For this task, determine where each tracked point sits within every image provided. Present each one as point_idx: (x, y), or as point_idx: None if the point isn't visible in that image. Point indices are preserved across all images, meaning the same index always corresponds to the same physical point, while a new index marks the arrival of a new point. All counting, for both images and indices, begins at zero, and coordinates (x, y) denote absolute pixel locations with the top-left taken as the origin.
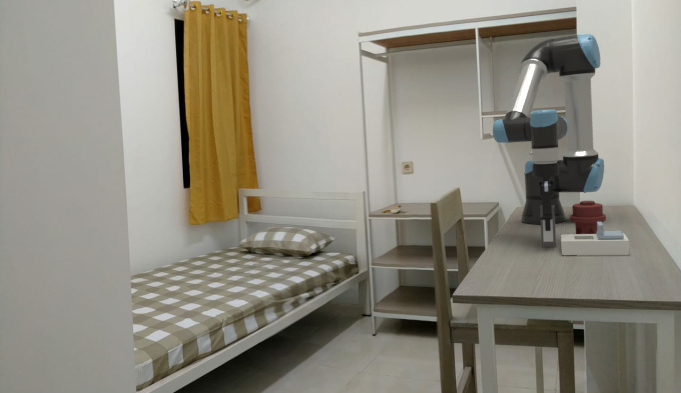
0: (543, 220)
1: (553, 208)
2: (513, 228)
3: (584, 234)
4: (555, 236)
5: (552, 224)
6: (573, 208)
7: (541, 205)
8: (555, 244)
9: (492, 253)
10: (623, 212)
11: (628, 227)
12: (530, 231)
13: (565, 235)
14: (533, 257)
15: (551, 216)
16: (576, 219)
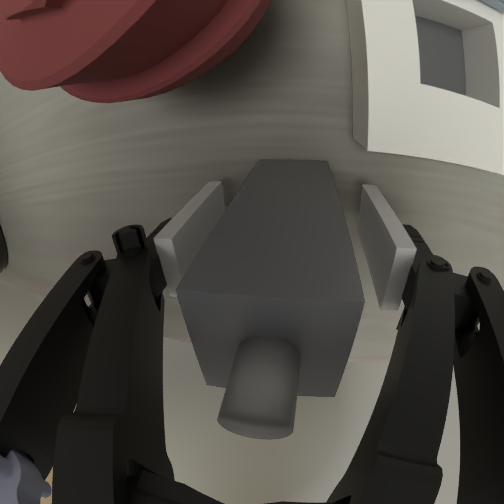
0: (397, 301)
1: (361, 296)
2: (49, 291)
3: (373, 17)
4: (331, 175)
5: (404, 229)
6: (116, 55)
7: (216, 381)
8: (327, 165)
9: (390, 354)
10: None
11: None
12: (59, 255)
13: (401, 128)
14: (481, 255)
15: (495, 280)
16: (243, 31)
